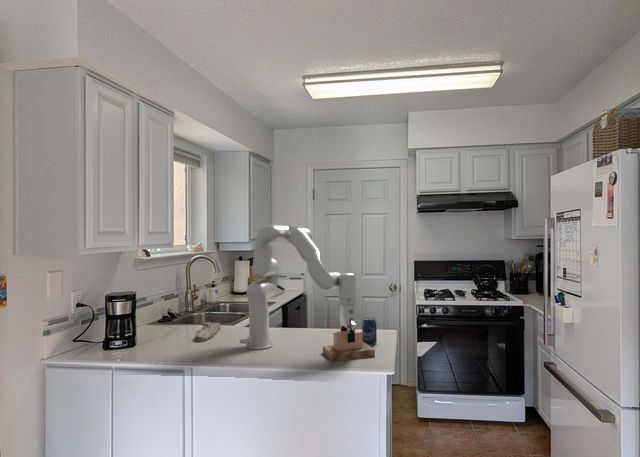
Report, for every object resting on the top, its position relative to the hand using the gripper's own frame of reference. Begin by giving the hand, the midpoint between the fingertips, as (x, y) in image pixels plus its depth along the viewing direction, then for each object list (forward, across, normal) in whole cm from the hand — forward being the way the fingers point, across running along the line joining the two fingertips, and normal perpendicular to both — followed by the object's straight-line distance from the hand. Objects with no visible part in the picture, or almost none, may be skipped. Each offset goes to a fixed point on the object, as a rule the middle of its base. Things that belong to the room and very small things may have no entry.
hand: (347, 339), depth 193 cm
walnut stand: (+7, 0, 0) cm, 7 cm away
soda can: (+7, +15, -16) cm, 23 cm away
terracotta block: (+4, 0, 0) cm, 4 cm away
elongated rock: (+8, +62, +59) cm, 86 cm away
